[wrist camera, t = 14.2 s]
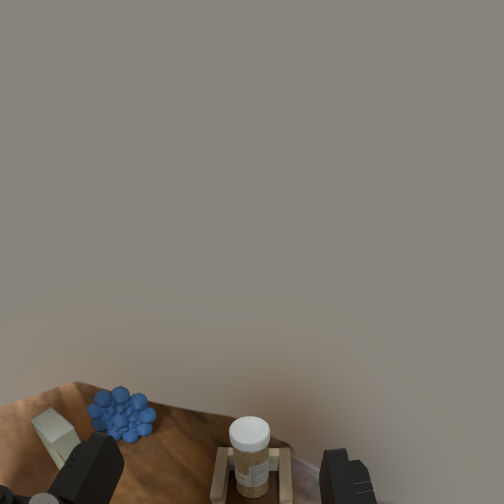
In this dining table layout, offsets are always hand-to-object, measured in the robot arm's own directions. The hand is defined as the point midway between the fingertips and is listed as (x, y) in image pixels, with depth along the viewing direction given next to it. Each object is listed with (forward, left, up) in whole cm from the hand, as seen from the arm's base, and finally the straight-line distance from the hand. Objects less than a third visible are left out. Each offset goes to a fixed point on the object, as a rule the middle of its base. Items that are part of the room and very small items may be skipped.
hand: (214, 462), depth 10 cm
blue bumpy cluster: (-20, +25, -30) cm, 44 cm away
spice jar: (0, +18, -30) cm, 35 cm away
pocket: (0, +18, -30) cm, 35 cm away
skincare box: (-25, +14, -30) cm, 42 cm away
